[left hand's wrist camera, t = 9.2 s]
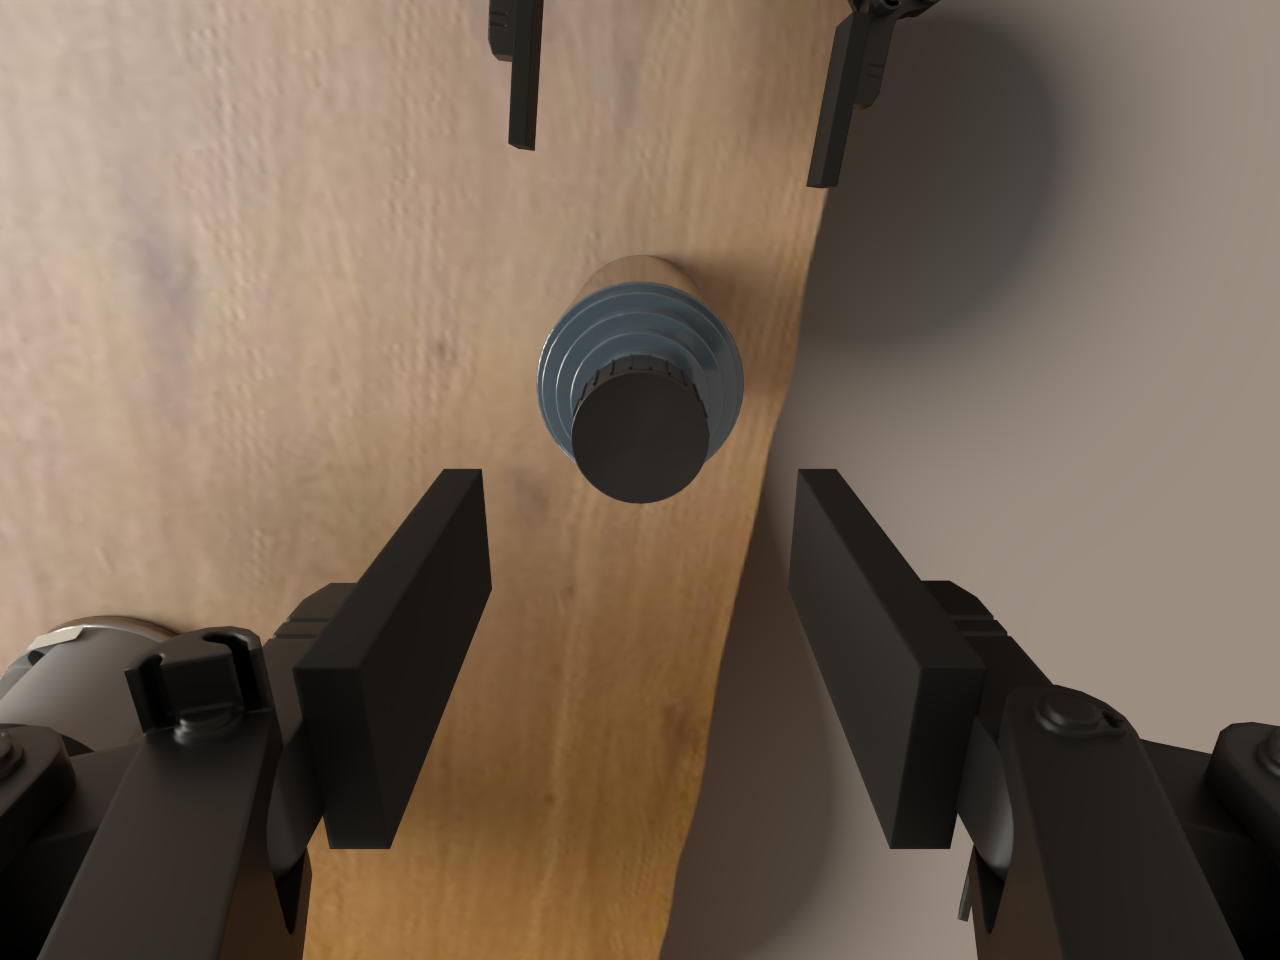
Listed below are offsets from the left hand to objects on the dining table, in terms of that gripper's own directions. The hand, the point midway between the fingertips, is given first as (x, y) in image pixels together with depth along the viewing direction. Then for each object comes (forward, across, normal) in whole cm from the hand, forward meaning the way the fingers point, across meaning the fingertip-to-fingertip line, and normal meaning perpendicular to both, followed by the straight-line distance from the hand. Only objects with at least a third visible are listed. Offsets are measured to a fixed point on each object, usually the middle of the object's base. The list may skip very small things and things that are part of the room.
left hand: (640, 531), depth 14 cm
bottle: (+28, 0, 0) cm, 28 cm away
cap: (+6, 0, 0) cm, 6 cm away
